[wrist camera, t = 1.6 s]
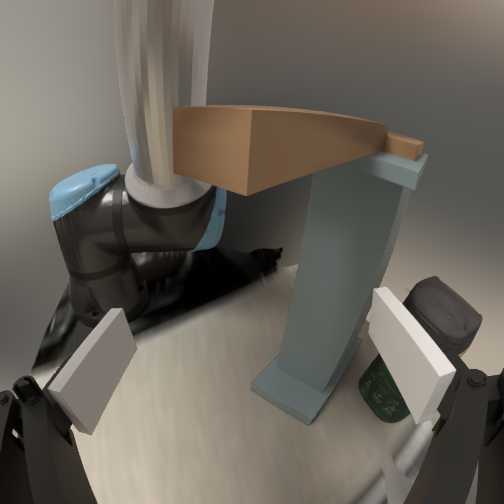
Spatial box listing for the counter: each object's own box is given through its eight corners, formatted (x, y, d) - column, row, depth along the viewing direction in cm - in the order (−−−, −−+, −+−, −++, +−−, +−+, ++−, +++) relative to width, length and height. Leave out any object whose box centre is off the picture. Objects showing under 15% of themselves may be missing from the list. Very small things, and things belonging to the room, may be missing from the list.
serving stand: (250, 389, 32) (278, 135, 16) (310, 323, 43) (353, 132, 27) (308, 425, 28) (418, 172, 12) (358, 347, 39) (428, 154, 23)
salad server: (135, 163, 9) (133, 109, 8) (359, 133, 27) (361, 117, 26) (343, 231, 5) (363, 127, 4) (422, 152, 23) (425, 135, 22)
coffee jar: (421, 405, 28) (496, 313, 19) (384, 432, 26) (470, 342, 16) (386, 362, 36) (439, 264, 26) (348, 382, 33) (402, 278, 24)
